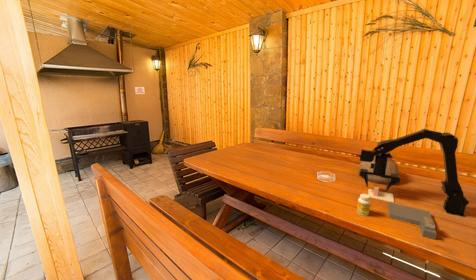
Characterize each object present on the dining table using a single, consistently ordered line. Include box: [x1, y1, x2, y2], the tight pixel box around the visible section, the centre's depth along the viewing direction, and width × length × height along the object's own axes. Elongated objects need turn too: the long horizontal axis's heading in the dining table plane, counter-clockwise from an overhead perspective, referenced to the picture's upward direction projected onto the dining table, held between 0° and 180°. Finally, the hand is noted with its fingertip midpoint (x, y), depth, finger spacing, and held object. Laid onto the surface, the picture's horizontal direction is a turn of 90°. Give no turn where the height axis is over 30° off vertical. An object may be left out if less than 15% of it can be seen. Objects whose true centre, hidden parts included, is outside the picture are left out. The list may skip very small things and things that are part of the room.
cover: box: [367, 183, 395, 204], centre depth 117 cm, size 12×10×6 cm
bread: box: [357, 156, 401, 185], centre depth 140 cm, size 26×23×15 cm
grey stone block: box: [423, 217, 436, 230], centre depth 88 cm, size 3×5×2 cm, turn 147°
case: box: [387, 202, 437, 240], centre depth 95 cm, size 16×20×3 cm
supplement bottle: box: [356, 193, 372, 217], centre depth 101 cm, size 5×5×10 cm
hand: (376, 188), depth 118 cm, fingers open, 9 cm apart
